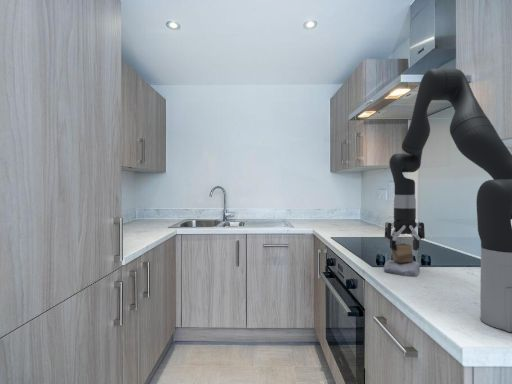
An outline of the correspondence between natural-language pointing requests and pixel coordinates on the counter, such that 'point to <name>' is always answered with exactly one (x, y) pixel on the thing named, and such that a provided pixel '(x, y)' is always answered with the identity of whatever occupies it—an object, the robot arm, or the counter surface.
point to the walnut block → (402, 253)
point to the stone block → (402, 268)
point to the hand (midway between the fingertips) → (404, 250)
